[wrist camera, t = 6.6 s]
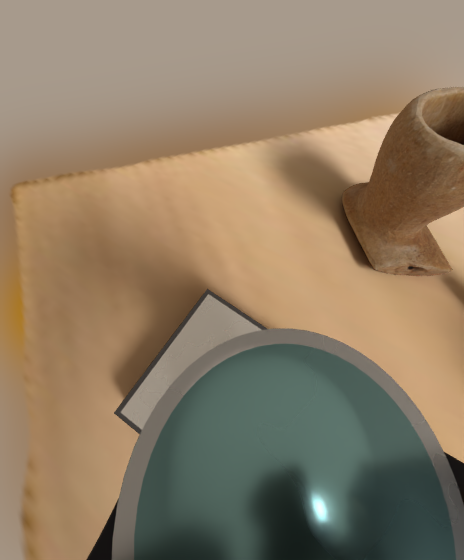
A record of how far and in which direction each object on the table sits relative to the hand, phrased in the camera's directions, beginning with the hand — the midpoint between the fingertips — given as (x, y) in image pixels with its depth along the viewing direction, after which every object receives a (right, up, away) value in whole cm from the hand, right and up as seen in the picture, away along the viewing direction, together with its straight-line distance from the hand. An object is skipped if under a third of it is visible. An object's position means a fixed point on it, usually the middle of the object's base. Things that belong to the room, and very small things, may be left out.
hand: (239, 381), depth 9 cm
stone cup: (+19, +11, +20) cm, 30 cm away
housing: (0, -4, +6) cm, 7 cm away
